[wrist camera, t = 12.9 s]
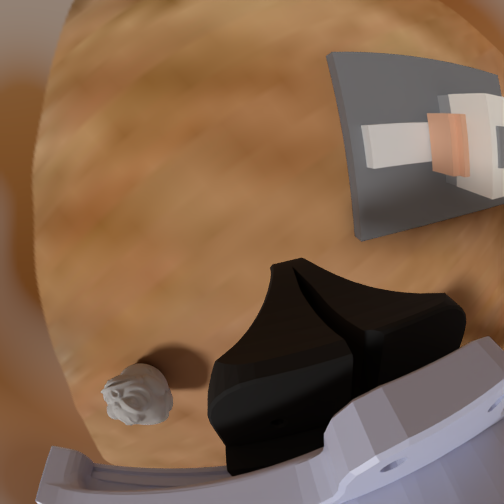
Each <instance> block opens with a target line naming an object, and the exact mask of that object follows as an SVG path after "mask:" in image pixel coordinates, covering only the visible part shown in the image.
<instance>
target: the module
mask: <svg viewBox="0 0 504 504" xmlns="http://www.w3.org/2000/svg"><path fill="white" fill-rule="evenodd" d="M437 97H438V103H439V109H440V113H451V114H465V116H466V124H467V133H468V145H469V161H470V177H462V176H454V177H453V176H449V175H446V183H449V184H452V185H455V186H457V187H459V188H462V189H465V190H468V191H471V192H474V193H476V194H479V195H482V196H484V197H487V198H490V199H496V198H500V197H504V97H501V96H496V95H492V94H487V93H467V94H448V95H440V96H437Z"/></svg>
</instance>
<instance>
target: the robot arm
mask: <svg viewBox="0 0 504 504" xmlns="http://www.w3.org/2000/svg"><path fill="white" fill-rule="evenodd" d="M270 270H271V279H270V284H269V288H268V292H267V295H266V297H265V300H264V303H263V305H262V307H261V310H260V311H259V313H258V315H257V317H256V319H255V320H254V322H253V323H252V325H251V327H250V328H249V329H248V331H247V332H246V333H245V334H244V336H243V337H242V338H241V339H240V340H239V341H238V342H237V343H236V344H235V345H234V346H233V347H232V348H231V349H230V350H228V351H227V352H226V353H225V354H224V355H222V356H221V357H220V358H219V359H217V360H216V361H215V363H214V367H213V370H212V374H211V379H210V383H209V389H208V418H209V421H210V423H211V425H212V426H213V428H214V429H215V431H216V433H217V434H218V436H219V437H220V438H221V440H222V441H223V443H224V444H225V446H226V464H227V466H218V467H204V468H178V469H163V468H137V467H124V466H114V465H105V464H98V463H93V461H92V460H91V459H90V458H88V457H87V456H86V455H84V454H83V453H81V452H79V451H76V450H73V449H68V448H62V447H57V446H52V447H51V449H50V452H49V455H48V458H47V461H46V465H45V468H44V471H43V474H42V478H41V481H40V485H39V489H38V492H37V496H36V500H35V501H36V502H37V504H504V351H503V350H502V349H501V348H500V347H499V346H498V345H497V344H496V343H495V342H494V341H493V340H492V339H491V338H490V337H489V336H487V337H483V338H480V339H477V340H474V341H471V342H469V343H468V344H466V345H464V346H463V347H461V348H459V347H460V344H461V341H462V338H463V335H464V331H465V326H466V315H465V313H464V311H463V309H462V308H461V307H460V306H459V305H458V304H457V303H456V302H454V301H453V300H452V299H451V298H450V297H449V296H448V295H446V294H445V293H423V294H419V293H404V292H395V291H389V290H383V289H378V288H373V287H369V286H366V285H362V284H359V283H356V282H353V281H350V280H347V279H345V278H342V277H340V276H337V275H335V274H333V273H331V272H329V271H327V270H325V269H323V268H321V267H319V266H317V265H315V264H313V263H311V262H310V261H308V260H306V259H304V258H298V259H294V260H290V261H286V262H281V263H277V264H273V265H272V266H271V267H270Z"/></svg>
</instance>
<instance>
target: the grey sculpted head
mask: <svg viewBox="0 0 504 504" xmlns="http://www.w3.org/2000/svg"><path fill="white" fill-rule="evenodd" d="M104 387H105V389H103V390H102V391H101V393H103V396H104V400H105V401H106V402H107V404H108V406H107V413H108V415H109V416H110V417H111V418H112V419H119V420H121V421H122V422H124V423H125V424H126V425H133V424H142V425H153V424H158V423H161V422H164V421H165V420H166V419H167V418H168V416H169V411H170V410H171V409H172V406H173V397H172V394H171V391H170V389H169V387H168V383H167V380H166V379H165V377H164V375H163V374H162V373H161V372H160V371H159V370H158V369H156V368H155V367H153V366H151V365H148V364H142V363H139V364H133V365H131V366H128V367H127V368H126V369H124V370H123V371H122V373H121V374H120V375H118V376H116V377H114V378H112V379H111V380H108V381H107V384H105V386H104Z"/></svg>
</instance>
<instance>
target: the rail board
mask: <svg viewBox="0 0 504 504" xmlns="http://www.w3.org/2000/svg"><path fill="white" fill-rule="evenodd" d="M326 58H327V62H328V66H329V70H330V74H331V78H332V83H333V87H334V92H335V96H336V101H337V106H338V111H339V116H340V122H341V127H342V133H343V139H344V145H345V151H346V158H347V165H348V173H349V181H350V189H351V198H352V208H353V219H354V232H355V237H357V238H358V239H359V240H360V241H365V240H369V239H373V238H377V237H381V236H385V235H389V234H393V233H397V232H401V231H405V230H408V229H412V228H416V227H420V226H424V225H428V224H431V223H435V222H439V221H443V220H447V219H450V218H454V217H458V216H461V215H465V214H469V213H473V212H476V211H480V210H484V209H487V208H491V207H494V206H498V205H502V204H504V197H500V198H496V199H490V198H487V197H484V196H482V195H479V194H476V193H474V192H471V191H468V190H465V189H462V188H459V187H457V186H455V185H452V184H449V183H446V174H442V173H439V172H435V171H433V168H432V154H431V143H430V134H429V126H428V119H427V113H440V109H439V103H438V97H437V96H440V95H448V94H467V93H487V94H492V95H496V96H501V90H500V85H499V80H498V75H495V74H492V73H489V72H485V71H482V70H478V69H474V68H471V67H467V66H463V65H458V64H454V63H449V62H444V61H439V60H433V59H427V58H421V57H413V56H405V55H396V54H385V53H368V52H331V53H330V54H328V55H327V56H326ZM501 97H502V96H501Z"/></svg>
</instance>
